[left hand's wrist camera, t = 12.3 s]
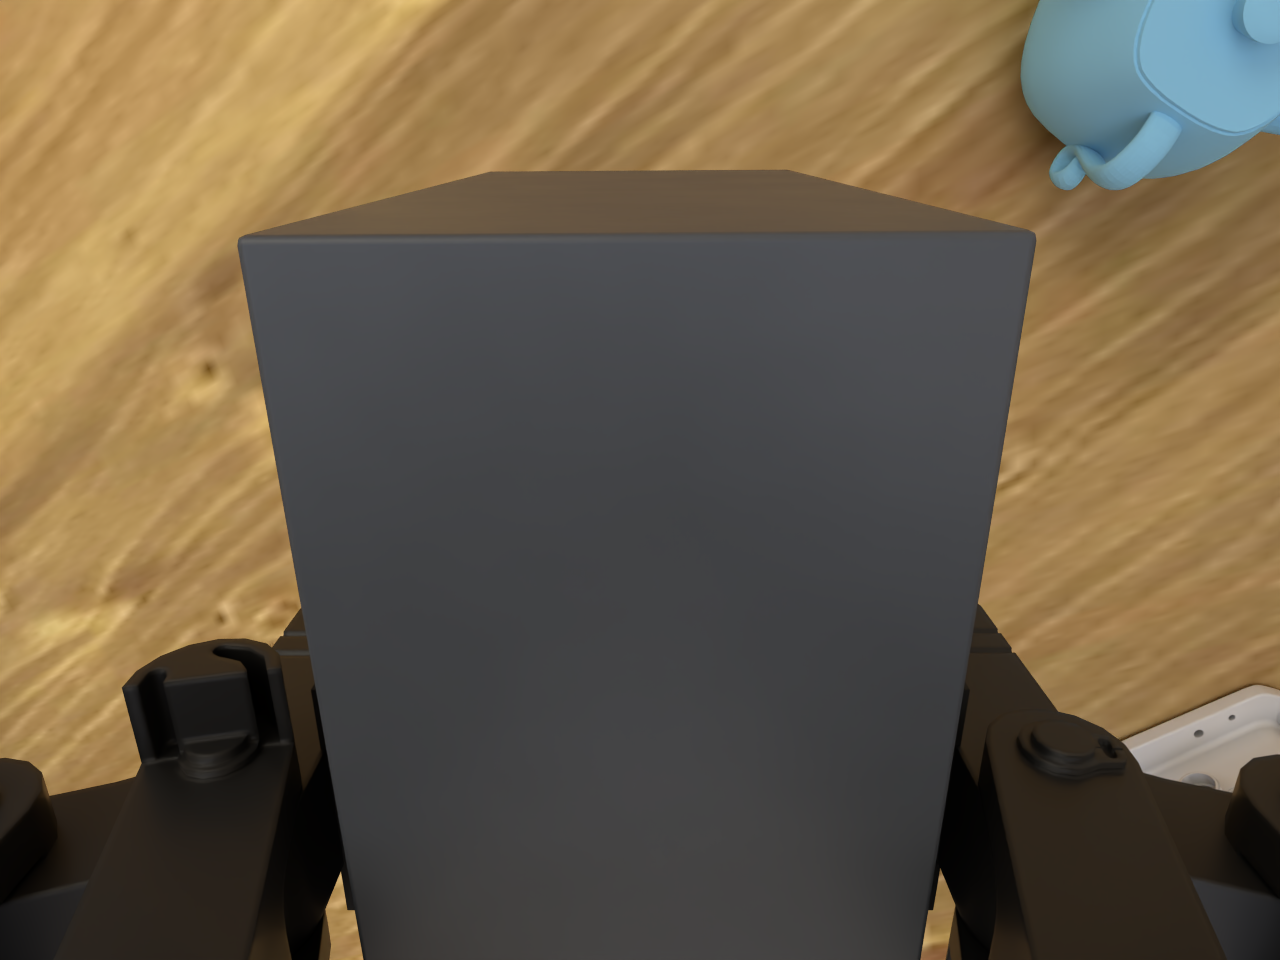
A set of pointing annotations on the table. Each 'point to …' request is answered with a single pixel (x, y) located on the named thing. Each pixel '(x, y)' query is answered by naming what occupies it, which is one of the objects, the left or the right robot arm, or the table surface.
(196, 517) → the table surface
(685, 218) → the bar
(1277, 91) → the teapot
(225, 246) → the table surface
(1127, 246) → the table surface
